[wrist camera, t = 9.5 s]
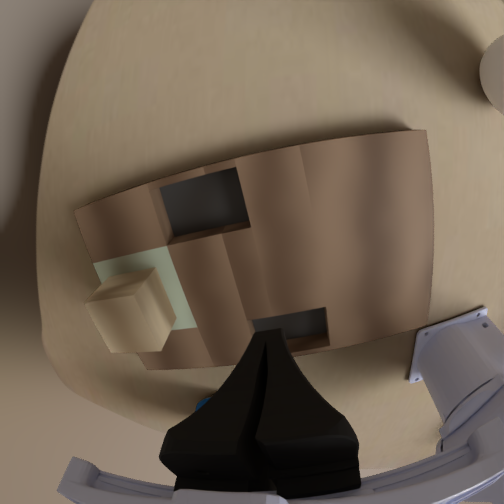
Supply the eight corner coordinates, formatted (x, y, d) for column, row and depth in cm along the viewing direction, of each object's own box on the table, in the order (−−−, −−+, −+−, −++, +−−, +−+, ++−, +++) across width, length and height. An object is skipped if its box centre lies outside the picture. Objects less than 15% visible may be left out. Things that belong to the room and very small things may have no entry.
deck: (412, 129, 17) (426, 129, 15) (418, 312, 22) (426, 325, 20) (87, 204, 20) (73, 210, 18) (153, 356, 26) (147, 370, 24)
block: (156, 267, 20) (133, 295, 16) (176, 317, 21) (161, 351, 18) (109, 276, 20) (83, 302, 17) (130, 323, 22) (111, 352, 18)
